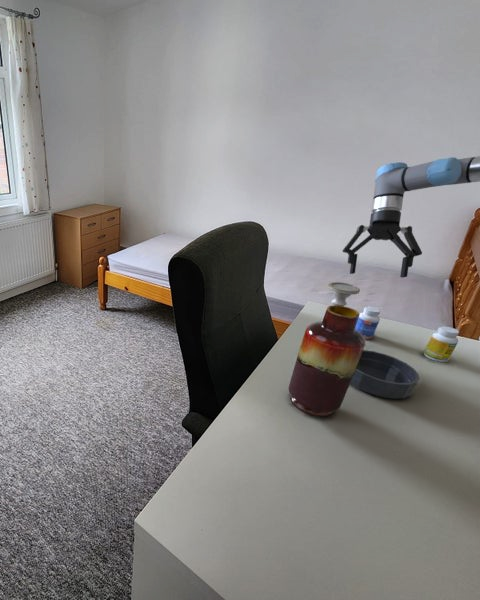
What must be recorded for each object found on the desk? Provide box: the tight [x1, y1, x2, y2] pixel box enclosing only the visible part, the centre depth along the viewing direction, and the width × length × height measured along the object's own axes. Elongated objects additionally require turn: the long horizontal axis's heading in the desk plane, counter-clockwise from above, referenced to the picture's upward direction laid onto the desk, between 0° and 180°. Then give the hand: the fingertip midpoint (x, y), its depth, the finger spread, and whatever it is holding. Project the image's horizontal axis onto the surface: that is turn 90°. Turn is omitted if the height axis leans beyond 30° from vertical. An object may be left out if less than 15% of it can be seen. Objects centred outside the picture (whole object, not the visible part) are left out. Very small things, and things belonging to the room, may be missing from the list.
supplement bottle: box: [423, 325, 460, 363], centre depth 99 cm, size 5×5×10 cm
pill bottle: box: [355, 306, 381, 340], centre depth 111 cm, size 6×5×10 cm
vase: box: [288, 304, 366, 418], centre depth 79 cm, size 11×11×26 cm
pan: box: [350, 349, 421, 400], centre depth 91 cm, size 15×15×5 cm
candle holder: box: [321, 281, 361, 321], centre depth 104 cm, size 9×9×20 cm
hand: (377, 275), depth 113 cm, fingers open, 13 cm apart
